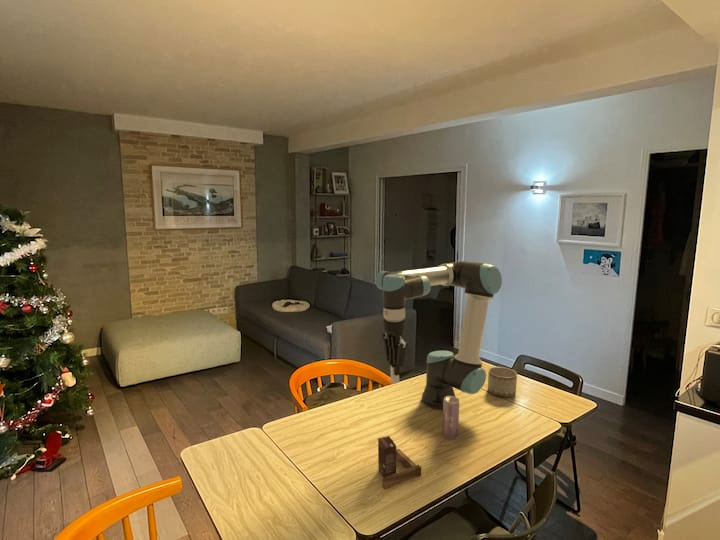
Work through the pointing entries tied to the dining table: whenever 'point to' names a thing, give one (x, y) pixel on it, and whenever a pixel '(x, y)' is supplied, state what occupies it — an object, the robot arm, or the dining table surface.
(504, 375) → the planter
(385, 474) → the box
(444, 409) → the beverage can
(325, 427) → the dining table surface
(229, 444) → the dining table surface
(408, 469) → the corner fence
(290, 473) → the dining table surface
